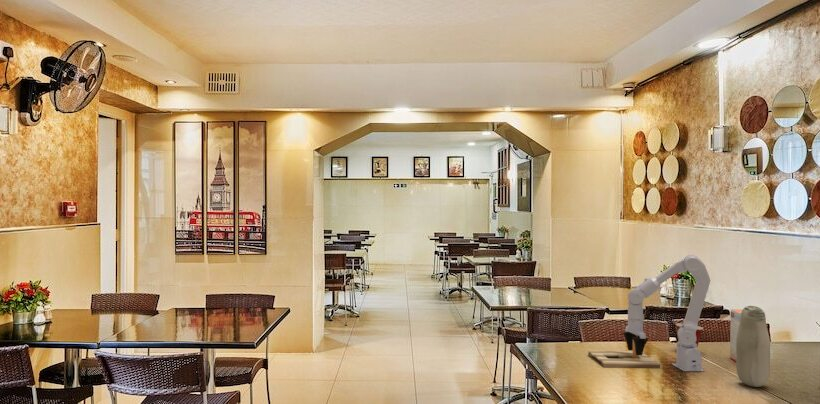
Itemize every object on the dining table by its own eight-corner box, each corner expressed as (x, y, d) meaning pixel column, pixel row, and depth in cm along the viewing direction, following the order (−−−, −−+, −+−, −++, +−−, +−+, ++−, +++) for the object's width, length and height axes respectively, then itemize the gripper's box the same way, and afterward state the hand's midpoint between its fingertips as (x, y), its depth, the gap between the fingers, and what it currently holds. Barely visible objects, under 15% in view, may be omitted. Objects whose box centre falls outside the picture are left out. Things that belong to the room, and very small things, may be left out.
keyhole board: (660, 368, 216) (660, 362, 216) (604, 367, 216) (604, 362, 216) (639, 356, 234) (639, 351, 234) (588, 355, 234) (588, 350, 234)
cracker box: (759, 368, 219) (759, 315, 219) (742, 367, 220) (742, 314, 220) (745, 359, 232) (745, 309, 233) (729, 358, 234) (729, 308, 234)
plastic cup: (708, 356, 236) (708, 327, 236) (682, 355, 236) (682, 327, 237) (695, 349, 247) (695, 322, 247) (671, 349, 247) (671, 322, 247)
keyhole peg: (644, 363, 223) (644, 340, 223) (633, 363, 222) (634, 341, 222) (637, 359, 228) (637, 338, 228) (626, 360, 227) (627, 338, 227)
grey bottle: (774, 391, 190) (775, 309, 190) (742, 388, 192) (742, 307, 192) (762, 382, 200) (763, 304, 200) (731, 380, 202) (732, 303, 202)
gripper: (618, 315, 232) (618, 347, 232) (633, 322, 218) (632, 357, 218) (635, 315, 233) (634, 348, 232) (651, 322, 218) (650, 357, 218)
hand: (635, 352), depth 225 cm, fingers open, 7 cm apart
